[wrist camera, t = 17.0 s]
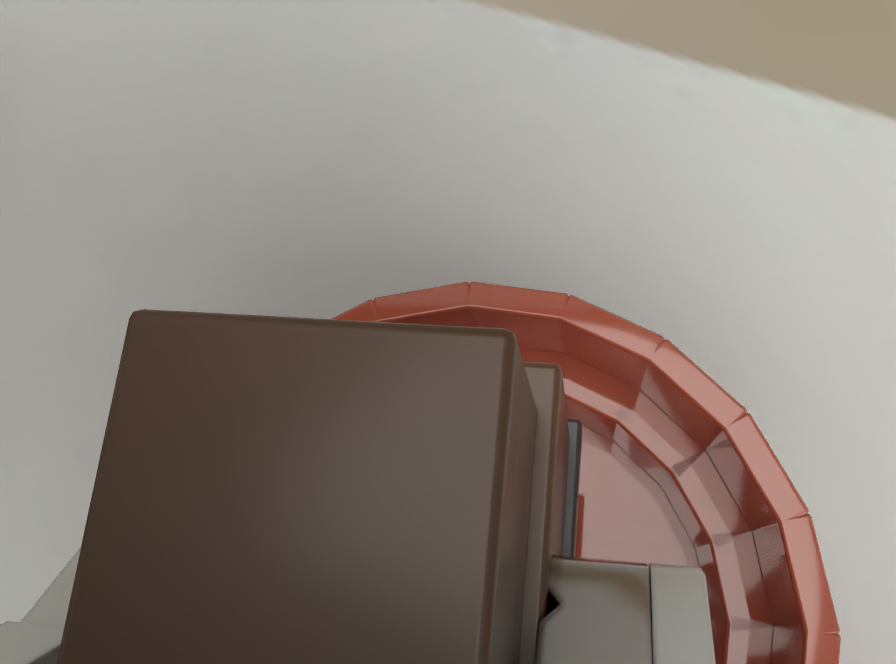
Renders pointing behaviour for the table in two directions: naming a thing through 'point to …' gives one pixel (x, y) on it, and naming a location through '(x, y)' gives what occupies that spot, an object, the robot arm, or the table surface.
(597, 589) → the robot arm
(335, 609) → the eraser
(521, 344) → the bowl
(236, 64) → the table surface
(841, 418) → the table surface
